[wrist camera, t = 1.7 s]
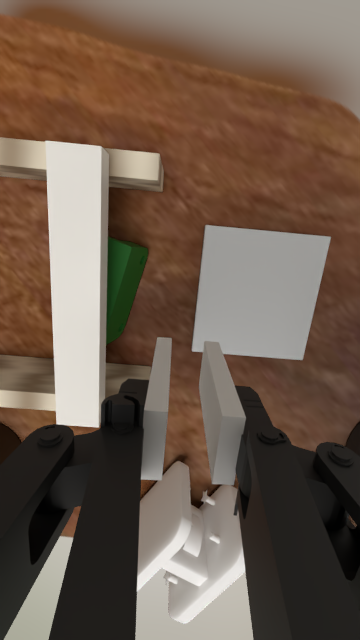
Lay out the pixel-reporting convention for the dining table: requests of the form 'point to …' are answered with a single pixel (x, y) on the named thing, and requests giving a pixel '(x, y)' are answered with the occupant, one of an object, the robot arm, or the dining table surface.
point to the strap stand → (38, 373)
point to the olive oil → (7, 442)
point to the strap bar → (78, 277)
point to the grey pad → (258, 291)
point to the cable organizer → (189, 542)
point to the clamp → (122, 283)
